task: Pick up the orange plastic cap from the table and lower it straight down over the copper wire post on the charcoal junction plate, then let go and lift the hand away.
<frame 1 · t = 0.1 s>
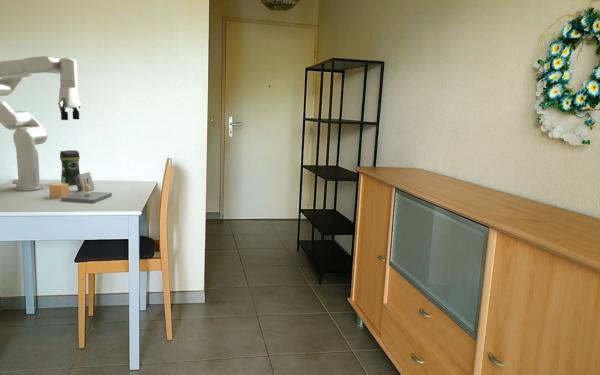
hand: (70, 119, 232), 37 cm above the table, tool pointing down, fingers open, 9 cm apart
coffee jar: (71, 184, 259), on the table
electrical switch: (84, 190, 244), on the table
junction plate: (87, 198, 227), on the table
orange cap: (59, 196, 227), on the table
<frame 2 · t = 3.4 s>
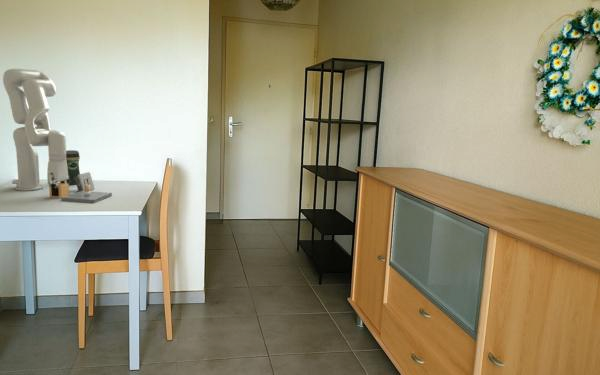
hand: (59, 194, 227), 1 cm above the table, tool pointing down, fingers closed on orange cap, 5 cm apart
orange cap: (59, 196, 227), on the table, touching gripper
everything else where it was.
when the fingers open (4 cm above the table, at t = 9.3 s): orange cap drops 1 cm, resting on junction plate.
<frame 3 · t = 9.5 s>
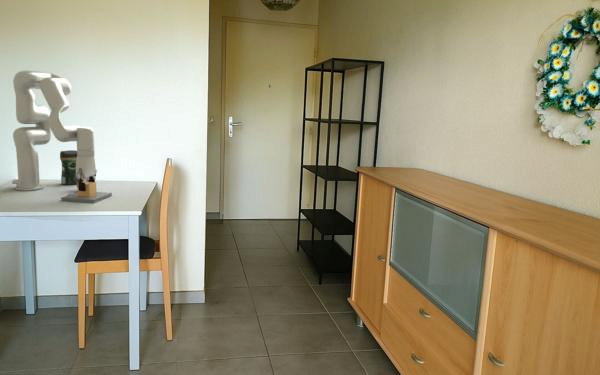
hand: (87, 189, 226), 4 cm above the table, tool pointing down, fingers open, 8 cm apart
orange cap: (87, 195, 226), point 1 cm above the table, touching junction plate
everything else where it was.
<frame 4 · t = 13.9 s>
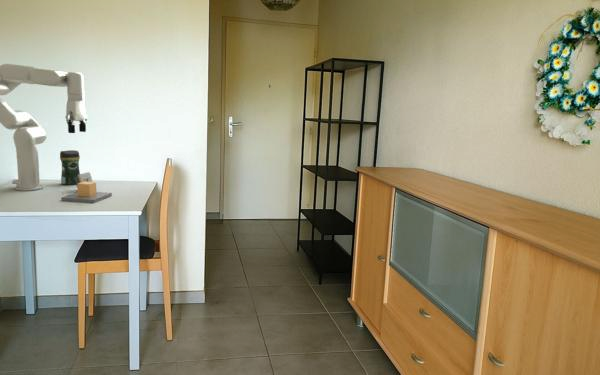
hand: (77, 132, 235), 30 cm above the table, tool pointing down, fingers open, 9 cm apart
nothing on the table moved.
at the end: orange cap 0.0 cm from the junction plate (horizontally); orange cap point 1.5 cm above the table; the gripper is holding nothing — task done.
